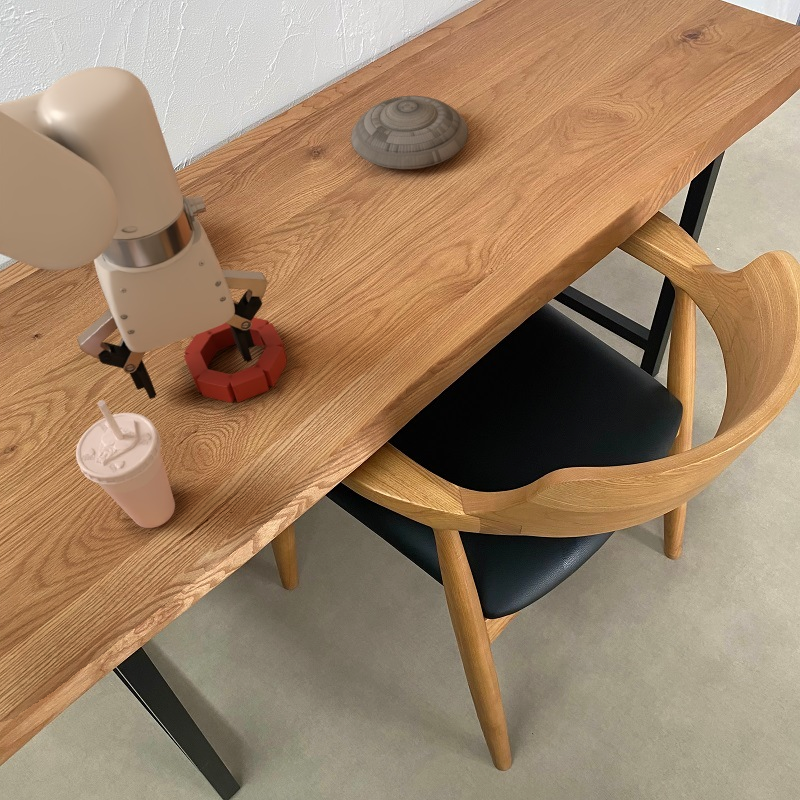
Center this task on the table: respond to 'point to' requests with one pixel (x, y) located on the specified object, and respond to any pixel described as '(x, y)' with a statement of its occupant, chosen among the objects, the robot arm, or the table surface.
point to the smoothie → (128, 465)
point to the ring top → (244, 380)
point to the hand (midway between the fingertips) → (197, 370)
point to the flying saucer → (409, 133)
